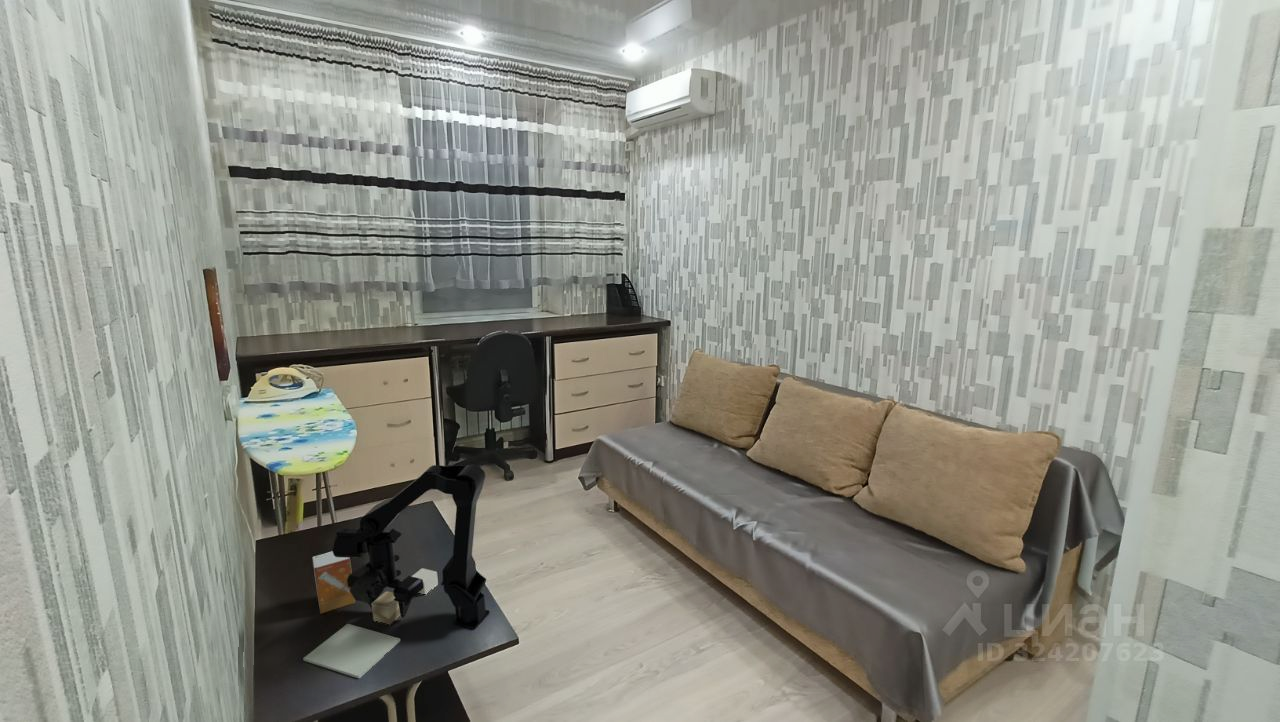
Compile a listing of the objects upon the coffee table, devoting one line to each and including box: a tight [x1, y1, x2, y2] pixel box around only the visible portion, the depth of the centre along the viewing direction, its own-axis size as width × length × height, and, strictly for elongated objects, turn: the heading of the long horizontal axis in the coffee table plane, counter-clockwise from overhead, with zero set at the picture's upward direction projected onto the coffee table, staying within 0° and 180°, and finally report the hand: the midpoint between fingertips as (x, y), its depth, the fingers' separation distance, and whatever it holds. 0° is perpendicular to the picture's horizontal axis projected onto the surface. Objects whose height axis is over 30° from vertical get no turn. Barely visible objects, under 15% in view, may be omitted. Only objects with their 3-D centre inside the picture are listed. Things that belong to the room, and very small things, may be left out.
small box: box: [311, 550, 356, 614], centre depth 142 cm, size 8×6×13 cm
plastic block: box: [411, 567, 439, 595], centre depth 148 cm, size 5×5×4 cm
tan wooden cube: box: [371, 591, 401, 626], centre depth 137 cm, size 5×5×5 cm
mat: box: [303, 623, 401, 679], centre depth 126 cm, size 16×12×1 cm
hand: (388, 612), depth 138 cm, fingers open, 9 cm apart
